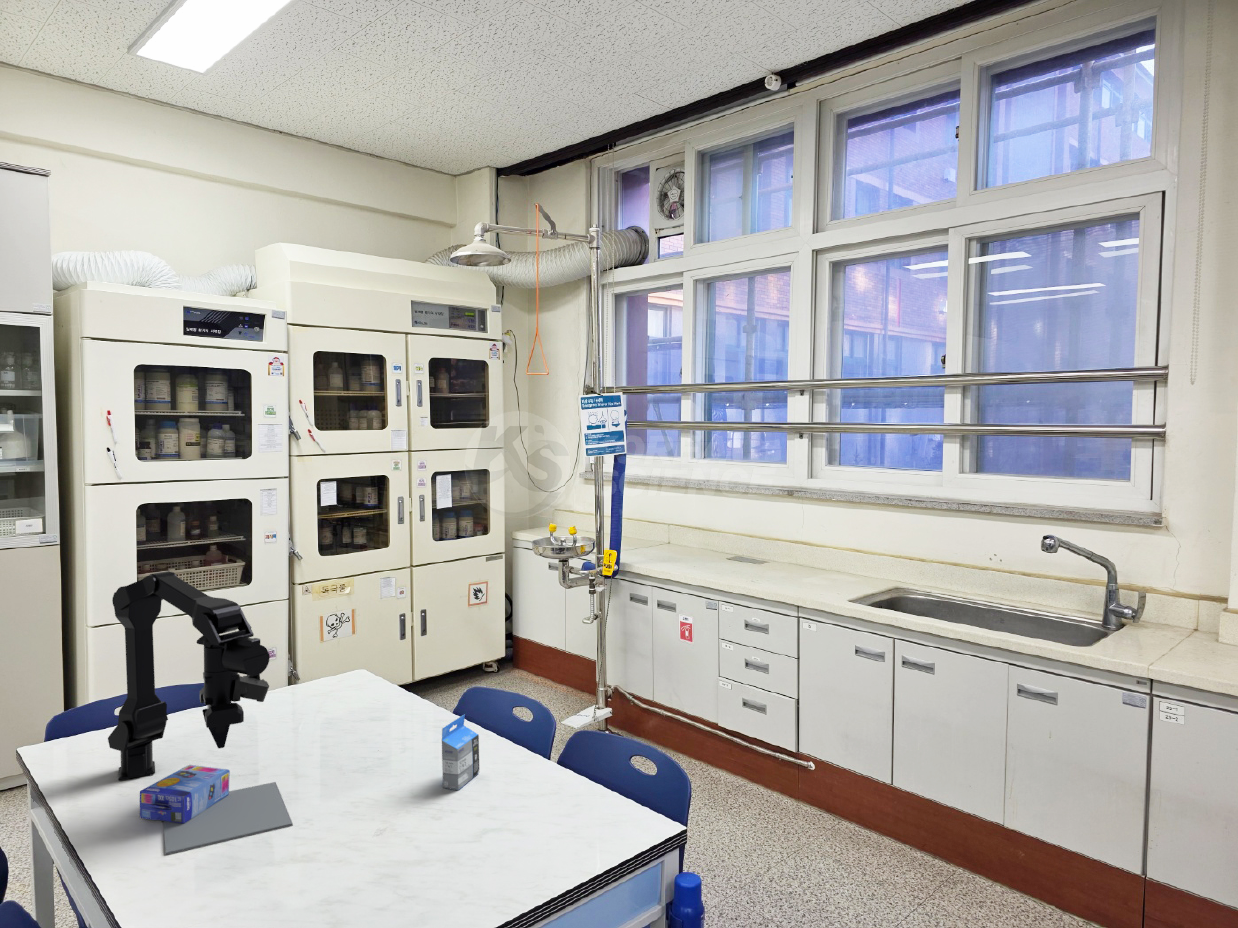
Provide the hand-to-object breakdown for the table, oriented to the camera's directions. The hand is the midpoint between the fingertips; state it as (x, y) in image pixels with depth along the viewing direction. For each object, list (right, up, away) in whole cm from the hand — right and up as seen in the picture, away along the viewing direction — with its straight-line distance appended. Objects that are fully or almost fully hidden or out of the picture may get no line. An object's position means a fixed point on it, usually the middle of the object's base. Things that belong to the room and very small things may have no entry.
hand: (221, 747), depth 154 cm
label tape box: (+45, -10, +9) cm, 47 cm away
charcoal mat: (+4, -10, -7) cm, 13 cm away
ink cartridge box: (-3, -7, +2) cm, 8 cm away
